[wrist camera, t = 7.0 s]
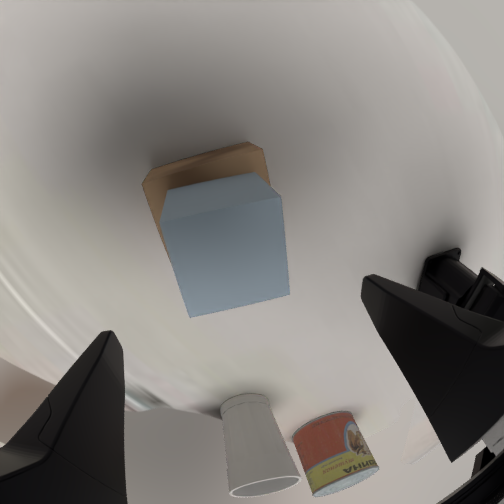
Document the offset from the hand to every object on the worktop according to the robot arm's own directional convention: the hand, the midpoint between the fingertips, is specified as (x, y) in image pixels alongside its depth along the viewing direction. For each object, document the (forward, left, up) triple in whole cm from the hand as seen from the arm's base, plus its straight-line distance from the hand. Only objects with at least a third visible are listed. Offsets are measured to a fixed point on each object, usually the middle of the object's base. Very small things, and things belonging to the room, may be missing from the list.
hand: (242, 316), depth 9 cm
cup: (+1, +27, -13) cm, 30 cm away
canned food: (-11, +42, -13) cm, 45 cm away
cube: (0, 0, -9) cm, 9 cm away
